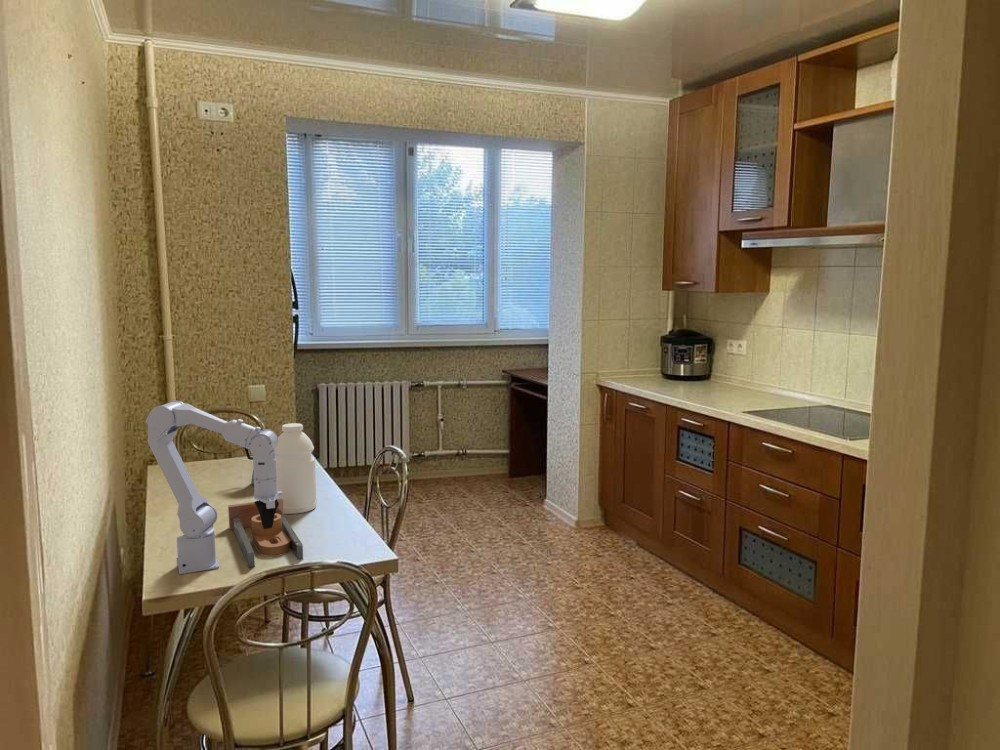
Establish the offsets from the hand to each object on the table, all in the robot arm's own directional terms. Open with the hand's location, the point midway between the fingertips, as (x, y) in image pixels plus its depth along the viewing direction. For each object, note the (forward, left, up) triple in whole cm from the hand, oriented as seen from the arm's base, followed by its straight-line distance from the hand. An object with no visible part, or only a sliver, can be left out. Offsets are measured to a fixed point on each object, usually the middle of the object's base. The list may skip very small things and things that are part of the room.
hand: (267, 527), depth 192 cm
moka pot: (+11, +84, -11) cm, 85 cm away
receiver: (+2, +18, -10) cm, 21 cm away
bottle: (+16, +48, -11) cm, 52 cm away
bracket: (+3, +16, -11) cm, 20 cm away
